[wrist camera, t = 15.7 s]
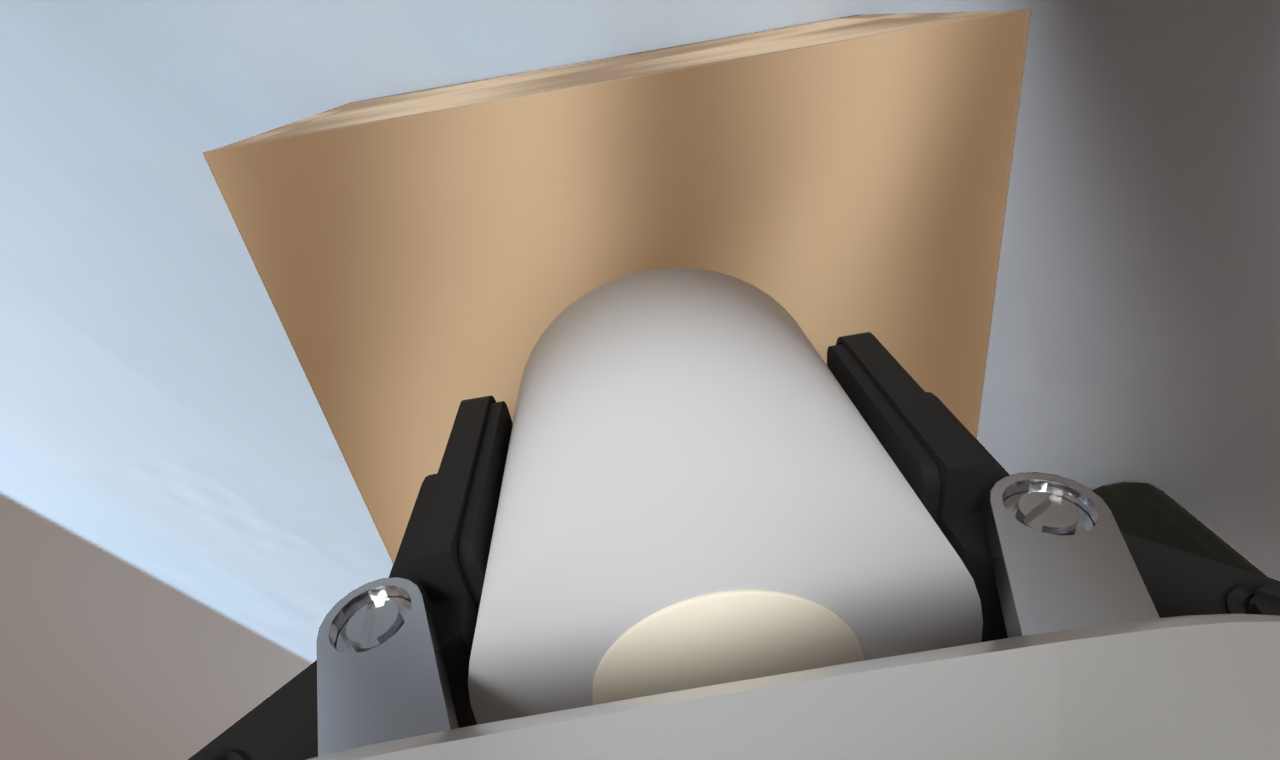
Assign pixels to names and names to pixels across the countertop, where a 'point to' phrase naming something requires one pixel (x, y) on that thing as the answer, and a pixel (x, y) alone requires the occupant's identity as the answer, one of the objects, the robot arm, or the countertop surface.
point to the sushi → (1166, 523)
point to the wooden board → (636, 224)
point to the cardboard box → (610, 69)
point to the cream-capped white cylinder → (696, 510)
